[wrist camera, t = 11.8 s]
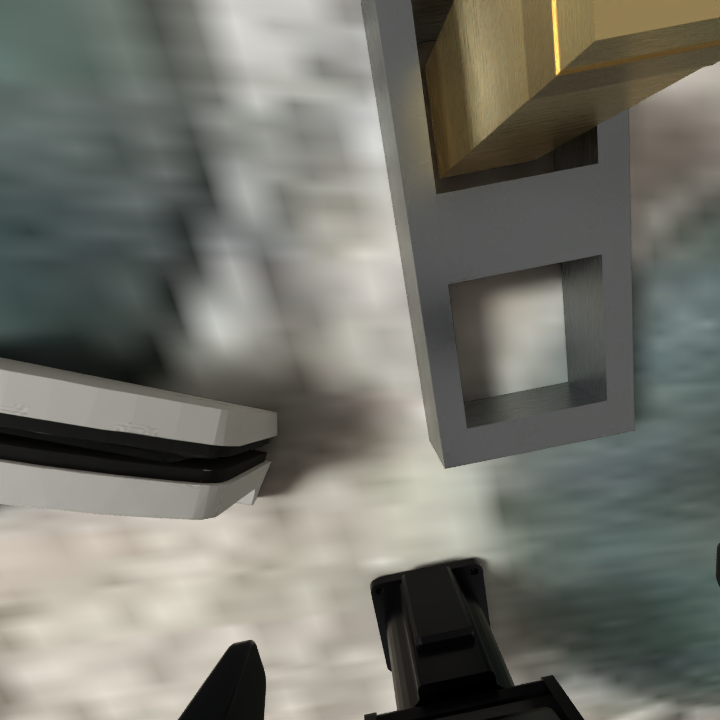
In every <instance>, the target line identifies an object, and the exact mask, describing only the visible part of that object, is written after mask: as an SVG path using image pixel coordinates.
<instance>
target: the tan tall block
mask: <svg viewBox="0 0 720 720" xmlns="http://www.w3.org/2000/svg"><path fill="white" fill-rule="evenodd" d="M719 61H720V0H454V2H453V4H452V7H451V9H450V11H449V13H448V16H447V18H446V20H445V23H444V25H443V27H442V29H441V32H440V34H439V36H438V39H437V41H436V43H435V45H434V48H433V50H432V52H431V55H430V57H429V59H428V61H427V64H426V66H425V74H426V82H427V89H428V97H429V105H430V112H431V120H432V128H433V135H434V143H435V151H436V158H437V166H438V173H439V179H440V178H445V177H450V176H455V175H460V174H466V173H471V172H476V171H481V170H486V169H491V168H497V167H502V166H507V165H512V164H517V163H522V162H527V161H533V160H536V159H537V158H539V157H541V156H543V155H545V154H546V153H548V152H550V151H552V150H554V149H556V148H557V147H559V146H561V145H563V144H565V143H566V142H568V141H570V140H572V139H574V138H575V137H577V136H579V135H581V134H583V133H585V132H586V131H588V130H590V129H592V128H594V127H595V126H597V125H599V124H601V123H603V122H604V121H606V120H608V119H610V118H612V117H614V116H615V115H617V114H619V113H621V112H623V111H624V110H626V109H628V108H630V107H632V106H633V105H635V104H637V103H639V102H641V101H642V100H644V99H646V98H648V97H650V96H652V95H653V94H655V93H657V92H659V91H661V90H662V89H664V88H666V87H668V86H670V85H671V84H673V83H675V82H677V81H679V80H681V79H682V78H684V77H686V76H688V75H690V74H691V73H693V72H695V71H697V70H699V69H700V68H702V67H705V66H711V65H713V64H715V63H717V62H719Z"/></svg>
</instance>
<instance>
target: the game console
mask: <svg viewBox="0 0 720 720" xmlns="http://www.w3.org/2000/svg"><path fill="white" fill-rule="evenodd" d="M274 436H277V412H274V411H268V410H263V409H258V408H253V407H248V406H243V405H238V404H233V403H228V402H223V401H218V400H213V399H208V398H203V397H198V396H193V395H188V394H183V393H178V392H173V391H168V390H162V389H157V388H152V387H147V386H142V385H137V384H132V383H127V382H122V381H117V380H112V379H107V378H102V377H97V376H92V375H87V374H82V373H77V372H72V371H67V370H62V369H56V368H51V367H46V366H41V365H36V364H31V363H26V362H21V361H16V360H11V359H6V358H1V357H0V504H7V505H16V506H26V507H35V508H44V509H54V510H64V511H73V512H83V513H93V514H105V515H120V516H135V517H150V518H170V519H189V520H203V519H208V518H213V517H216V516H218V515H219V514H221V513H222V512H224V511H225V510H226V509H228V508H229V507H230V506H232V505H233V504H235V503H240V504H246V505H253V504H254V502H255V500H256V498H257V496H258V494H259V491H260V487H261V485H262V482H263V480H264V478H265V475H266V473H267V471H268V468H269V466H270V464H271V461H268V460H265V458H266V454H267V452H262V451H257V450H251V449H253V448H256V447H259V446H262V445H265V444H268V443H269V441H270V437H274Z"/></svg>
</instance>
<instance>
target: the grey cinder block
mask: <svg viewBox="0 0 720 720" xmlns="http://www.w3.org/2000/svg"><path fill="white" fill-rule="evenodd" d="M453 2H454V0H361V6H362V12H363V19H364V25H365V32H366V38H367V44H368V51H369V57H370V63H371V70H372V76H373V83H374V89H375V95H376V102H377V108H378V115H379V121H380V127H381V134H382V140H383V146H384V153H385V159H386V166H387V172H388V178H389V185H390V191H391V197H392V204H393V210H394V217H395V223H396V229H397V236H398V242H399V248H400V255H401V261H402V268H403V274H404V280H405V287H406V293H407V299H408V306H409V312H410V319H411V325H412V331H413V338H414V344H415V350H416V357H417V363H418V370H419V376H420V382H421V389H422V395H423V402H424V408H425V414H426V421H427V427H428V433H429V440H430V442H431V444H432V446H433V448H434V450H435V451H436V453H437V455H438V457H439V459H440V461H441V462H442V464H443V466H444V468H445V469H446V468H451V467H456V466H461V465H466V464H471V463H476V462H481V461H486V460H491V459H496V458H501V457H506V456H511V455H516V454H521V453H526V452H531V451H536V450H541V449H546V448H550V447H555V446H560V445H565V444H570V443H575V442H580V441H585V440H590V439H595V438H600V437H605V436H610V435H615V434H620V433H625V432H630V431H635V421H634V369H633V316H632V264H631V211H630V159H629V108H628V109H626V110H624V111H623V112H621V113H619V114H617V115H615V116H614V117H612V118H610V119H608V120H606V121H604V122H603V123H601V124H599V125H597V126H595V127H594V128H592V129H590V130H588V131H586V132H585V133H583V134H581V135H579V136H577V137H575V138H574V139H572V140H570V141H568V142H566V143H565V144H563V145H561V146H559V147H557V148H556V149H554V154H555V171H556V172H551V173H546V174H541V175H535V176H530V177H525V178H520V179H515V180H509V181H504V182H499V183H494V184H488V185H483V186H478V187H473V188H467V189H462V190H457V191H452V192H446V193H441V194H436V188H435V180H434V173H433V165H432V157H431V150H430V142H429V134H428V127H427V119H426V111H425V104H424V96H423V88H422V81H421V73H420V66H419V58H418V50H417V43H420V42H425V41H431V40H436V39H438V36H439V34H440V32H441V29H442V27H443V25H444V23H445V20H446V18H447V16H448V13H449V11H450V9H451V7H452V4H453ZM560 262H561V269H562V285H563V301H564V318H565V334H566V350H567V367H568V382H566V383H561V384H556V385H551V386H546V387H541V388H536V389H531V390H526V391H521V392H516V393H511V394H506V395H501V396H496V397H491V398H485V399H480V400H475V401H470V402H465V403H464V402H463V395H462V387H461V379H460V372H459V364H458V356H457V349H456V341H455V333H454V326H453V318H452V310H451V303H450V295H449V287H448V284H452V283H458V282H463V281H468V280H473V279H478V278H483V277H488V276H494V275H499V274H504V273H509V272H514V271H519V270H524V269H530V268H535V267H540V266H545V265H550V264H555V263H560Z"/></svg>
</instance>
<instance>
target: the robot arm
mask: <svg viewBox="0 0 720 720" xmlns="http://www.w3.org/2000/svg"><path fill="white" fill-rule="evenodd" d="M472 568H475V569H474V570H471V569H472ZM716 579H717V582H718V584H719V586H720V543H719V544H718V546H717V559H716ZM379 587H381V589H377V588H379ZM370 588H371V595H372V600H373V604H374V609H375V613H376V618H377V622H378V627H379V632H380V636H381V641H382V645H383V650H384V654H385V659H386V664H387V668H388V670H390V671H392V676H393V683H394V690H395V698H396V705H397V711H393V712H388V713H383V714H379V715H377V713H371V714H366V715H364V720H584V719H583V717H582V716H581V714H580V713H579V712H578V710H577V709H576V707H575V706H574V704H573V703H572V702H571V700H570V699H569V697H568V696H567V694H566V693H565V692H564V690H563V689H562V687H561V686H560V685H559V683H558V682H557V680H556V679H555V677H554V676H553V675H551V676H546V677H541V680H540V681H535V682H530V683H525V684H521V685H516V686H515V685H514V683H513V680H512V678H511V676H510V673H509V671H508V669H507V666H506V664H505V662H504V659H503V657H502V655H501V652H500V650H499V648H498V645H497V643H496V641H495V638H494V636H493V634H492V632H491V629H490V622H489V615H488V607H487V600H486V592H485V585H484V577H483V570H482V567H481V565H480V563H479V562H478V561H477V560H475V559H470V560H465V561H460V562H455V563H450V564H445V565H440V566H436V567H431V568H426V569H421V570H416V571H411V572H406V573H402V574H397V575H392V576H387V577H382V578H377V579H375V580H373V581H372V582H371V585H370ZM265 695H266V676H265V671H264V668H263V665H262V662H261V658H260V655H259V652H258V649H257V646H256V644H255V642H254V641H253V640H247V641H242V642H237V643H234V644H232V645H231V646H230V647H229V648H228V649H227V651H226V652H225V653H224V655H223V656H222V658H221V659H220V661H219V662H218V663H217V665H216V666H215V668H214V669H213V671H212V672H211V673H210V675H209V676H208V678H207V679H206V680H205V682H204V683H203V685H202V686H201V688H200V689H199V690H198V692H197V693H196V695H195V696H194V698H193V699H192V700H191V702H190V703H189V705H188V706H187V708H186V709H185V710H184V712H183V713H182V715H181V716H180V717H179V719H178V720H264V710H265Z"/></svg>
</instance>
